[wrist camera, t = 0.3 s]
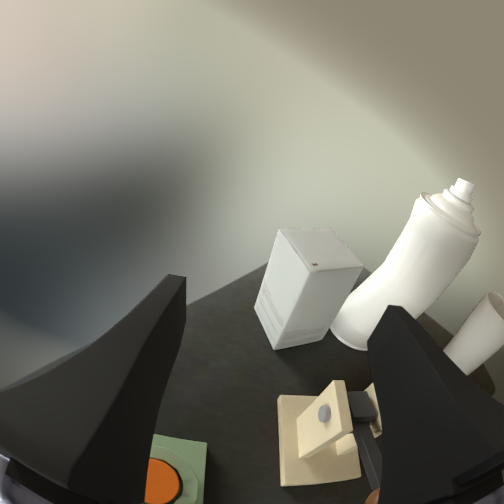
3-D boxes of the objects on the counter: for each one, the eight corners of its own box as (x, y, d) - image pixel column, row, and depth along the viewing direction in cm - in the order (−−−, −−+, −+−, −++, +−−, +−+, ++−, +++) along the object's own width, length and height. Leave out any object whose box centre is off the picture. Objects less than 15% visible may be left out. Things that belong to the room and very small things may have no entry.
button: (177, 508, 14) (177, 508, 13) (127, 498, 14) (123, 497, 13) (181, 466, 17) (181, 464, 17) (133, 456, 17) (130, 453, 16)
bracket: (355, 478, 20) (417, 451, 15) (280, 486, 19) (325, 469, 14) (343, 400, 28) (390, 352, 23) (277, 399, 27) (310, 349, 22)
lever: (398, 522, 10) (426, 506, 9) (360, 535, 10) (387, 521, 9) (357, 410, 21) (373, 387, 20) (326, 412, 21) (340, 388, 20)
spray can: (378, 303, 44) (452, 165, 29) (408, 353, 35) (509, 208, 21) (319, 306, 40) (394, 140, 26) (347, 367, 32) (465, 186, 18)
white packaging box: (323, 340, 35) (367, 266, 28) (272, 351, 32) (309, 272, 25) (300, 300, 40) (332, 226, 33) (252, 306, 38) (277, 225, 30)
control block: (200, 539, 14) (202, 542, 12) (107, 520, 13) (98, 520, 11) (206, 445, 22) (208, 438, 20) (122, 429, 21) (116, 419, 19)
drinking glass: (450, 366, 34) (510, 299, 25) (454, 401, 29) (525, 334, 20) (419, 356, 35) (480, 283, 27) (421, 393, 30) (495, 319, 21)
